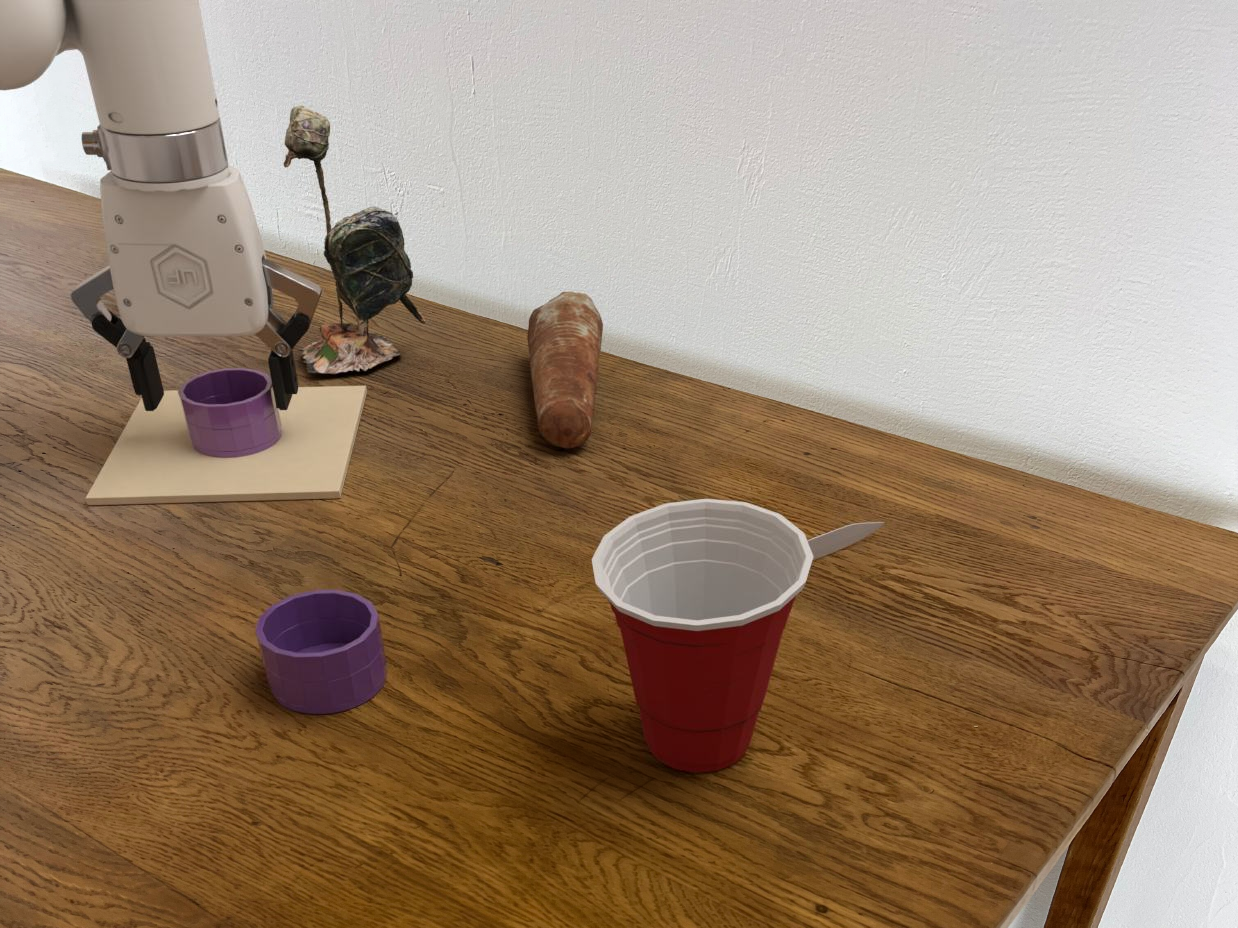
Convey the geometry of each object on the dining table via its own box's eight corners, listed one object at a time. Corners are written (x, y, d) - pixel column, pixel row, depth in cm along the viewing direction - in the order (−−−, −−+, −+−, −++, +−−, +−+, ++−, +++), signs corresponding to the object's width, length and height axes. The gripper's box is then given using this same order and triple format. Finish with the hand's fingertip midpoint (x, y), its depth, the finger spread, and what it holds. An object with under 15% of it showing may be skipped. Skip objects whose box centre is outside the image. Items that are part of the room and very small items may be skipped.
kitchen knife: (669, 621, 78) (670, 594, 76) (660, 614, 78) (661, 587, 77) (887, 537, 85) (891, 511, 84) (878, 531, 86) (881, 505, 84)
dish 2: (261, 716, 71) (246, 658, 68) (280, 647, 76) (266, 591, 73) (381, 712, 71) (371, 654, 68) (392, 644, 76) (383, 587, 73)
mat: (87, 505, 89) (85, 498, 89) (147, 397, 102) (145, 390, 102) (340, 498, 90) (339, 490, 89) (367, 392, 103) (366, 385, 102)
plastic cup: (556, 735, 70) (545, 544, 61) (699, 661, 75) (707, 476, 66) (688, 837, 63) (695, 639, 55) (834, 748, 68) (860, 556, 60)
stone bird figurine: (434, 371, 106) (405, 105, 92) (299, 383, 104) (249, 115, 91) (425, 334, 112) (396, 79, 98) (296, 346, 110) (249, 88, 96)
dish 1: (182, 459, 93) (169, 407, 90) (201, 419, 98) (189, 369, 95) (274, 456, 93) (263, 405, 91) (288, 416, 98) (278, 366, 96)
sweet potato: (603, 354, 108) (602, 288, 104) (598, 457, 94) (597, 385, 90) (530, 354, 108) (527, 288, 104) (515, 457, 94) (510, 385, 90)
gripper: (15, 168, 79) (90, 426, 91) (291, 168, 80) (330, 424, 91) (50, 136, 85) (116, 383, 96) (307, 136, 85) (342, 381, 97)
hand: (220, 403), depth 94 cm, fingers open, 9 cm apart
